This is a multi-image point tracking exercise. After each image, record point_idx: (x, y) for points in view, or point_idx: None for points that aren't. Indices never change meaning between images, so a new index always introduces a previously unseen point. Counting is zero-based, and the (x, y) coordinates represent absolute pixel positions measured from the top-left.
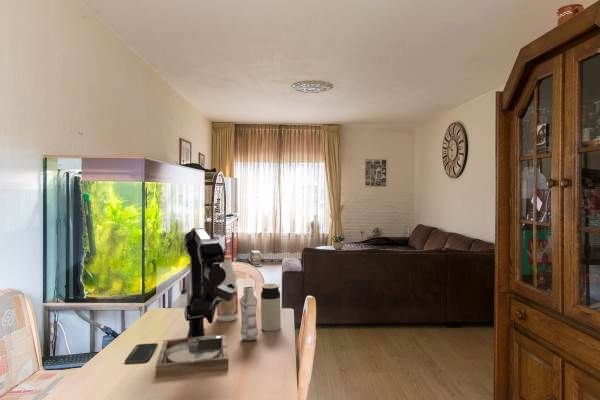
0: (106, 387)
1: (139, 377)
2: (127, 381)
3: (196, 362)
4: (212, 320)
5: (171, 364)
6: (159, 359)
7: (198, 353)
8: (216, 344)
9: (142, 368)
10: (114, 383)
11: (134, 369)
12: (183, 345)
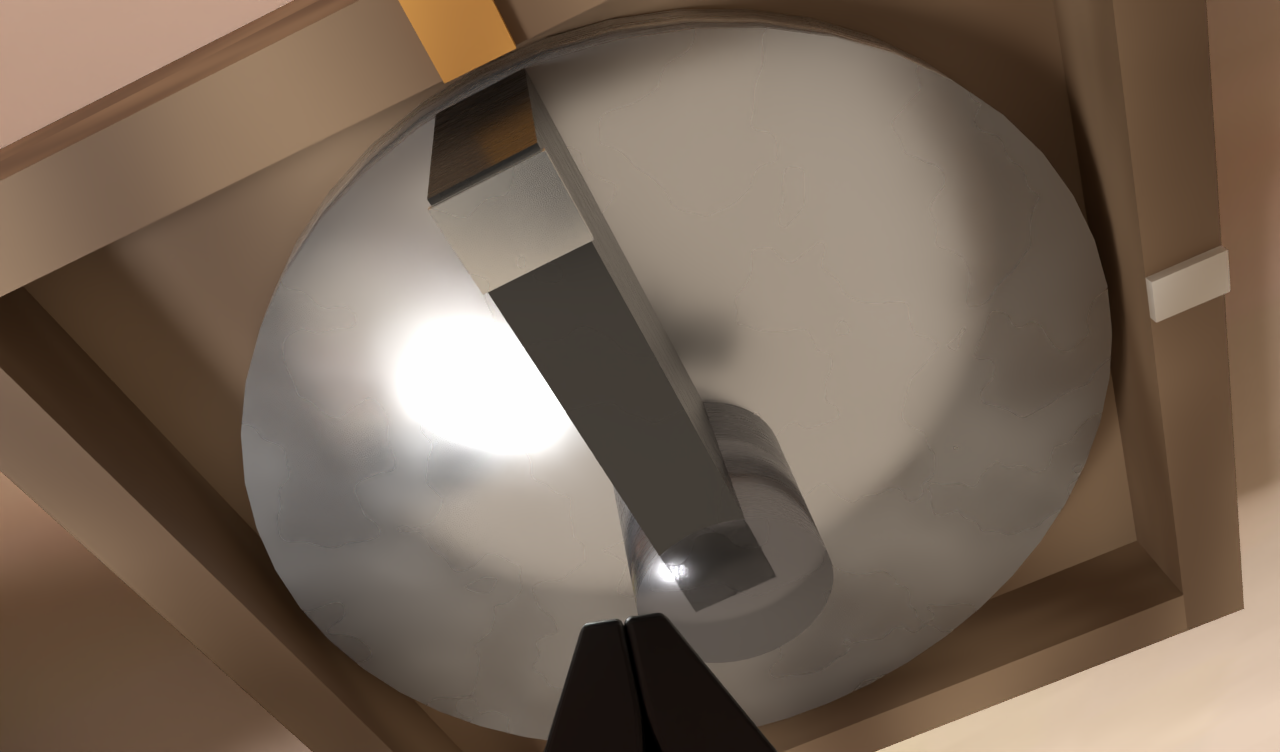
0: (1269, 727)
1: None
2: (1195, 669)
3: (1210, 215)
4: (642, 671)
5: (1234, 488)
6: (1059, 666)
7: (821, 355)
8: (578, 183)
9: None
10: (1212, 722)
11: (963, 748)
12: (555, 667)
